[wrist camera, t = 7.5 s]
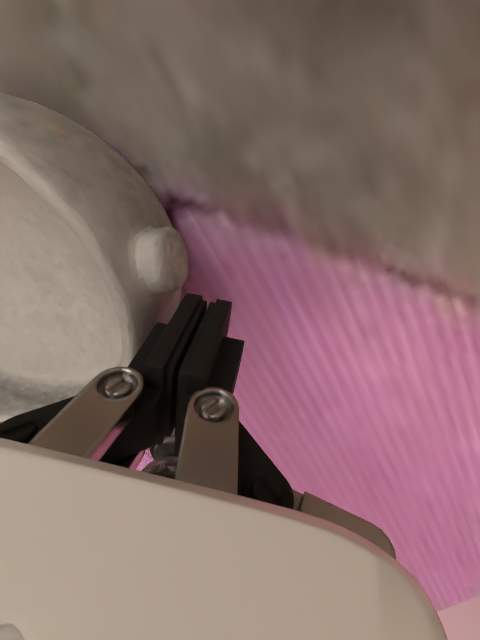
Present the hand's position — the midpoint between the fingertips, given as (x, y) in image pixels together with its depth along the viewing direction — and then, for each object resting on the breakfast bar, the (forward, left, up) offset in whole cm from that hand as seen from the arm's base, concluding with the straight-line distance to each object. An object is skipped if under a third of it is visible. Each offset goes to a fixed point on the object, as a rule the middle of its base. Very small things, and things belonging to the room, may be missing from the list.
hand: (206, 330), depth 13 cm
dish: (+1, -8, -4) cm, 9 cm away
